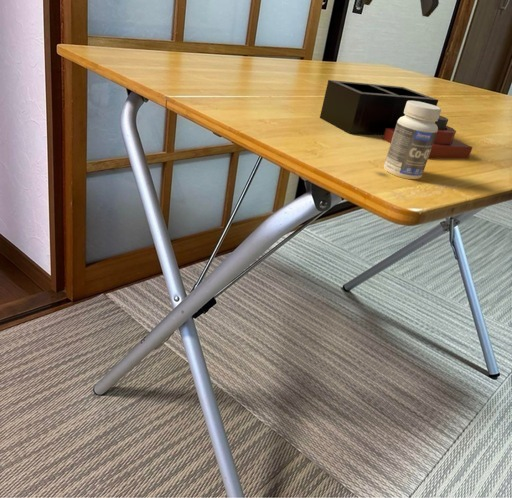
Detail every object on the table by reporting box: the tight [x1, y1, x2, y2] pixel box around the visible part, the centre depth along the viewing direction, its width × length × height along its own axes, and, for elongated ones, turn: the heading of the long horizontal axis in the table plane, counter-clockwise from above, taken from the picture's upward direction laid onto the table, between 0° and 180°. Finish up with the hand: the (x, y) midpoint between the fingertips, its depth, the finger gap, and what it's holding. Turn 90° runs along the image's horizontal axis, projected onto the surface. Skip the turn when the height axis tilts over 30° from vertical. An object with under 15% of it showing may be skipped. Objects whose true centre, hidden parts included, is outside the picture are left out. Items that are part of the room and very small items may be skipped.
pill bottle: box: [383, 101, 442, 180], centre depth 61 cm, size 5×5×8 cm
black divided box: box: [319, 79, 439, 137], centre depth 81 cm, size 16×8×6 cm, turn 117°
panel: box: [382, 125, 473, 159], centre depth 75 cm, size 10×8×4 cm
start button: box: [435, 115, 449, 130], centre depth 74 cm, size 4×4×2 cm
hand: (400, 6), depth 65 cm, fingers open, 8 cm apart
